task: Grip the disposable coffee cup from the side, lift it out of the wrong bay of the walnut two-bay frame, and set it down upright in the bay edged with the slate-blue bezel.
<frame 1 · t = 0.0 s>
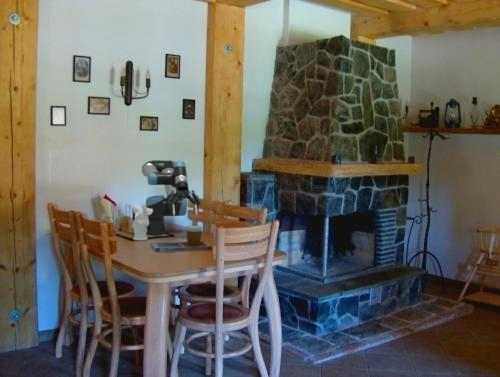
hand: (185, 215, 343), 15 cm above the table, tool tilted 35°, fingers open, 13 cm apart
two-bay frame: (181, 248, 322), on the table
cherub figurine: (143, 239, 346), on the table
disposable coffee cup: (193, 248, 324), resting in two-bay frame
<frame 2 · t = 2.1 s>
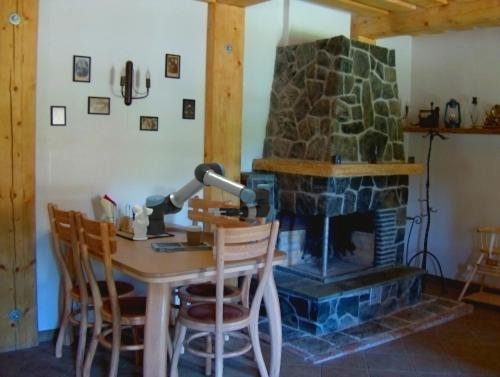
hand: (211, 212, 325), 20 cm above the table, tool horizontal, fingers open, 13 cm apart
nothing on the table moved.
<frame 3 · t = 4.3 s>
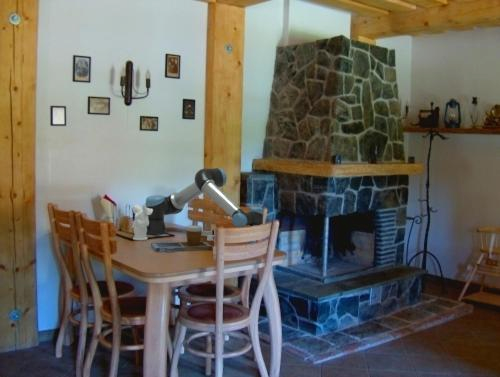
hand: (204, 235, 325), 7 cm above the table, tool horizontal, fingers open, 13 cm apart
nothing on the table moved.
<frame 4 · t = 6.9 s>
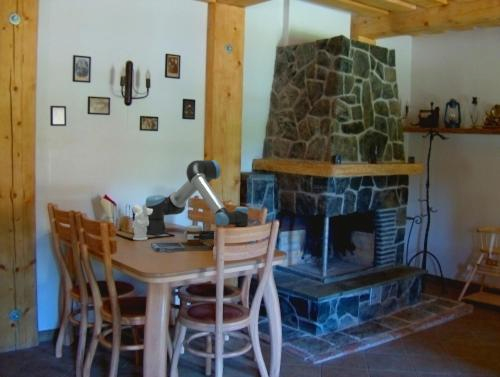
hand: (185, 235, 322), 7 cm above the table, tool horizontal, fingers closed on disposable coffee cup, 8 cm apart
disposable coffee cup: (193, 248, 324), resting in two-bay frame, touching gripper
everything else where it was.
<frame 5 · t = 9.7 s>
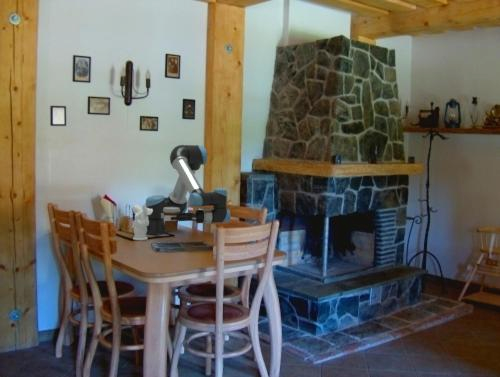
hand: (162, 217, 316), 18 cm above the table, tool horizontal, fingers closed on disposable coffee cup, 8 cm apart
disposable coffee cup: (171, 229, 319), point 10 cm above the table, touching gripper
everything else where it was.
when the fingers open (8 cm above the table, at t = 12.5 s): disposable coffee cup drops 1 cm, resting in two-bay frame.
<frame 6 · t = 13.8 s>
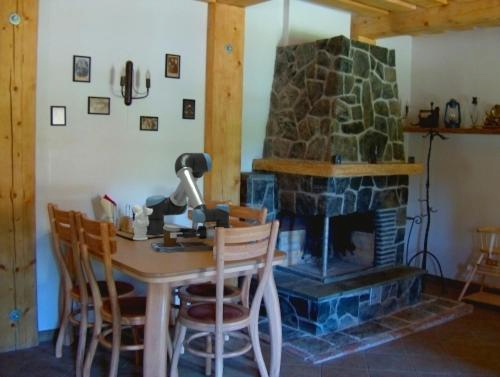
hand: (167, 233, 318), 9 cm above the table, tool horizontal, fingers open, 13 cm apart
disposable coffee cup: (169, 247, 322), resting in two-bay frame
everything else where it was.
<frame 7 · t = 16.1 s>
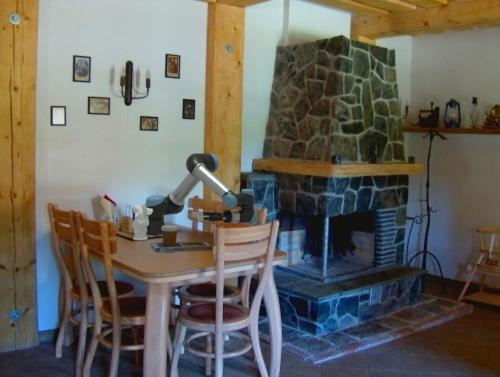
hand: (194, 216, 326), 17 cm above the table, tool horizontal, fingers open, 13 cm apart
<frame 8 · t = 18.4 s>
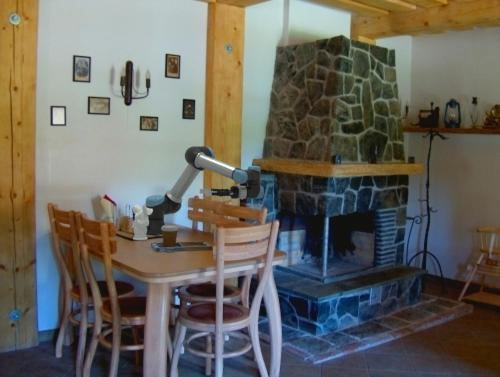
hand: (202, 192, 334), 30 cm above the table, tool horizontal, fingers open, 13 cm apart
nothing on the table moved.
at the end: disposable coffee cup inside the target area (2.7 cm from its centre), resting in two-bay frame; disposable coffee cup tilted 0°; the gripper is holding nothing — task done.
